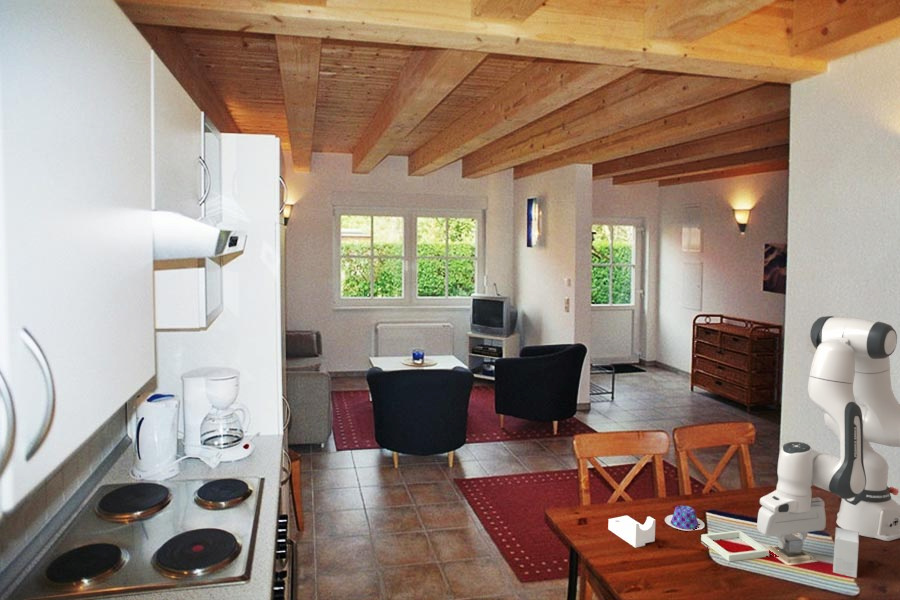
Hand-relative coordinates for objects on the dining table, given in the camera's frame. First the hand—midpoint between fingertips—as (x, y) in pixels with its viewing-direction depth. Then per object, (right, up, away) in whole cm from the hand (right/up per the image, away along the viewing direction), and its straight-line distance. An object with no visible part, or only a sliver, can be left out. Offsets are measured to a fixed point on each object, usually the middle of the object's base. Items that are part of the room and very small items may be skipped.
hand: (790, 546), depth 187 cm
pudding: (-22, -1, +22) cm, 31 cm away
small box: (+11, -4, -7) cm, 14 cm away
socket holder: (0, -3, 0) cm, 3 cm away
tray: (-14, -3, +4) cm, 15 cm away
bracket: (-42, -2, +13) cm, 44 cm away
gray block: (0, -2, 0) cm, 2 cm away
